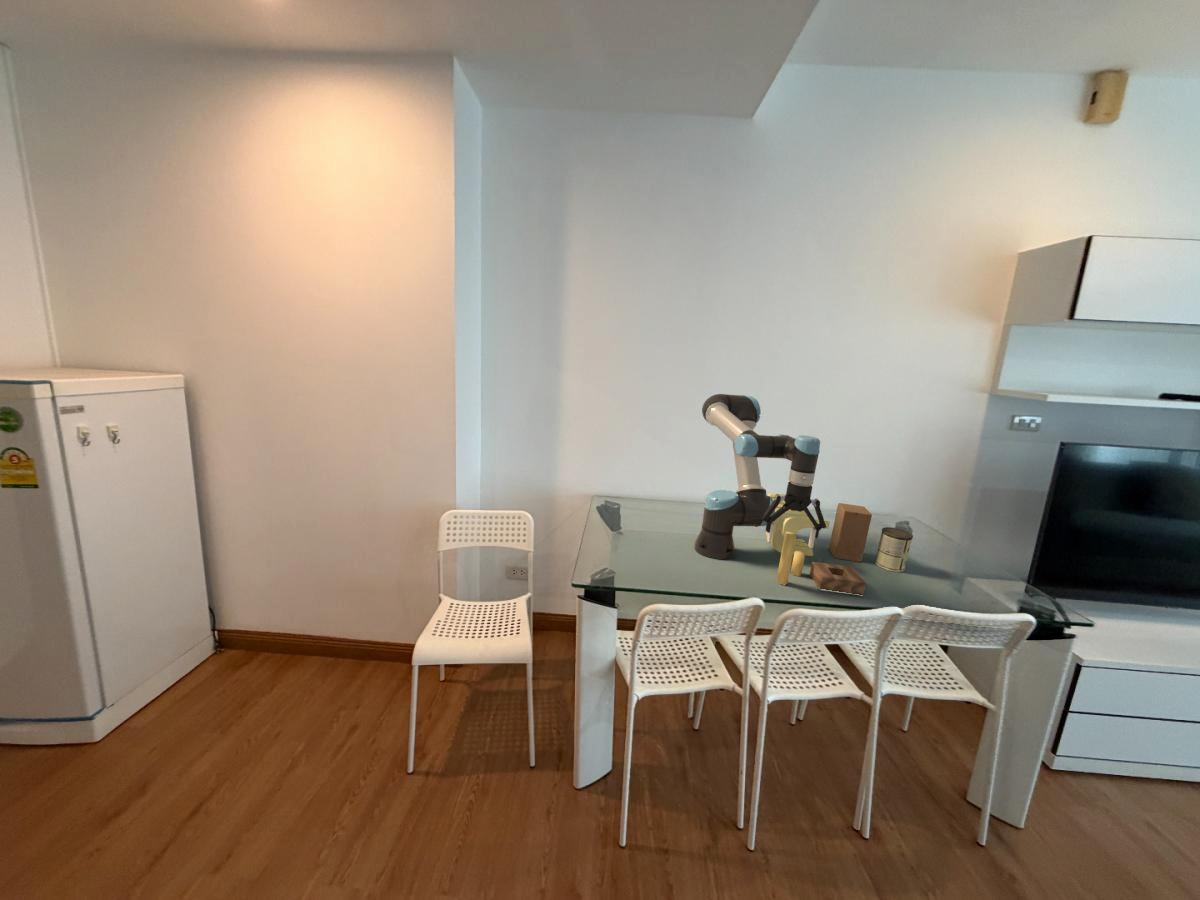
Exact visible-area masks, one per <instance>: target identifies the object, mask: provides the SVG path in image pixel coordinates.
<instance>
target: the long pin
mask: <svg viewBox="0 0 1200 900" xmlns="http://www.w3.org/2000/svg"><path fill="white" fill-rule="evenodd" d="M796 539H797V533H796V534H795V533H793V532H785V536H784V542H783V547H782V553H781V552H780V559H779V564H778V569H777V575H776V580H775V582H776V581H777V582H779V583H781V584H787V585H788V583H789V577H790V573H791V568H792V562H793V557H794V554H793V551H794V546H795V541H796ZM777 582H776V583H777Z"/></svg>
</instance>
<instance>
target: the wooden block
mask: <svg viewBox="0 0 1200 900" xmlns="http://www.w3.org/2000/svg"><path fill="white" fill-rule="evenodd" d="M872 516H873V515H872V513H871V512H870V511H869V510H868V509H867V508H866V507H865V506H863V505H862V506H861V505H856V504H849V503H841V502H838V504H837V507H836V513H835V516H834V517H835V518H834V521H833V527H832V532H831V537H830V540H829V547H828V549H829V551H830V553H831V555H832V556H833V557H834V558H835V559H840V560H845V561H850V562H857V563H862V561H863V558H864V557H863V556H864V553H865V552H864V551H865V548H866V544H867V539H868V538H867V537H868V534H869V529H870V525H871V521H872Z"/></svg>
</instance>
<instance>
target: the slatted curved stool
mask: <svg viewBox="0 0 1200 900" xmlns="http://www.w3.org/2000/svg"><path fill="white" fill-rule="evenodd" d="M776 494H777V493H775V492H774V493H773V492H771V493H769V494H767V496H770V497H771V498H772V499H773V500H774V499H775V496H776ZM778 494H779V495H780V496H784V497H785V495H786V493H785V494H784V493H778ZM784 504H785V501H784V500H783V501H782V502H780V503H779V505H778V506H777V507H776V509H775V512H776V511H777V510H778V509H780V508H781V507H782V505H784ZM815 520H816V522H817V523H818V524H820V523H819V520H818V519H815ZM824 521H825V524H826V528H825V529H829V527H830V523H831V521H830V520H824ZM773 524H774V527H773V533H772V539H771V543H770V544H771V545H772V546H773V548H774V549H775V551H777V552H778V553H780V554H781V553H782V547H783V542H784V536H785V532H793V533H795V534H796V535H797V533H798V532H799V531H800V530H804V529H811V527H815V526H814V525H813V523H812V522H811V520H810V519H809V517H808V516H807V514H806V513H805V511H804V510H803V511H801V512H799V511H791V510H790V509H789V510H788V511H786V512H785V513H784V514H782V515H781V516H780V517H779V518H777V519H776V520H775V521H774V522H773ZM765 536H766V537H767V536H768V532H766V531H765ZM795 551H800V552H803V553H805V556H807V557H809V556H810V557H814V550H813V548H810V547H809V545H808V543H807V541H806V540H805V539H801V538H796V541H795V546H794V551H793V555H794V552H795Z"/></svg>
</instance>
